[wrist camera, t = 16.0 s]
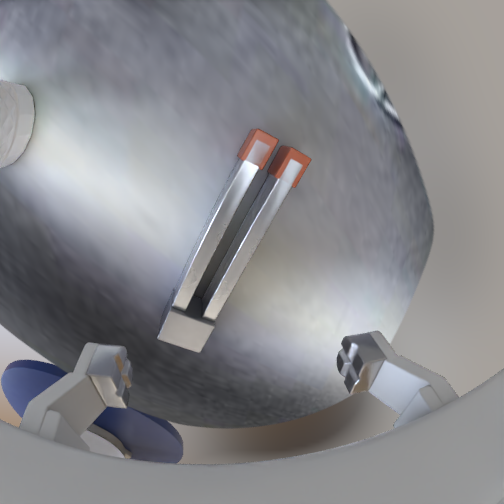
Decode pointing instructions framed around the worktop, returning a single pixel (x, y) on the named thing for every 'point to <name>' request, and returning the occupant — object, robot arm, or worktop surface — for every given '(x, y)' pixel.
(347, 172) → the worktop surface
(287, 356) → the worktop surface
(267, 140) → the tongs
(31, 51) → the worktop surface
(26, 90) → the white cup
